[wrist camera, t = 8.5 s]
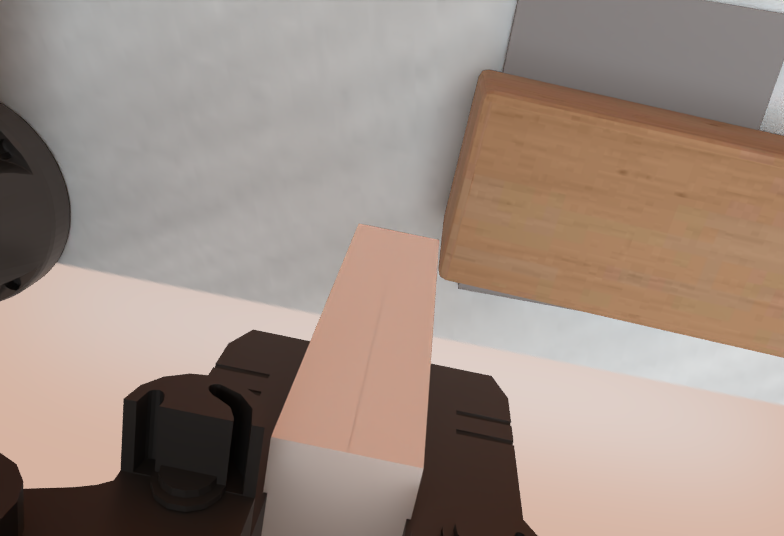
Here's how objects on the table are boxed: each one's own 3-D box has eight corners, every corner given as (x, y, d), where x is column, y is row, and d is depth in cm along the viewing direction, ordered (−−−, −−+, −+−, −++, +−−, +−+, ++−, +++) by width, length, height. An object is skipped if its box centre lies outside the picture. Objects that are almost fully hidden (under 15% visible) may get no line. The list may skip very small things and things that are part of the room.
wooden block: (480, 66, 42) (810, 141, 42) (442, 222, 46) (743, 291, 45) (484, 89, 33) (907, 185, 32) (435, 281, 37) (814, 368, 36)
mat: (458, 283, 48) (458, 288, 47) (523, -30, 41) (524, -30, 40) (683, 325, 48) (687, 330, 47) (793, 15, 40) (799, 16, 39)
